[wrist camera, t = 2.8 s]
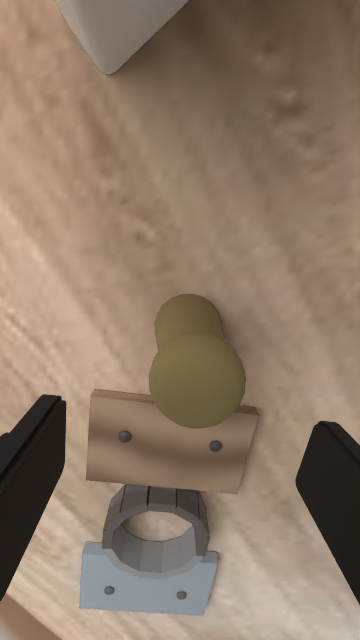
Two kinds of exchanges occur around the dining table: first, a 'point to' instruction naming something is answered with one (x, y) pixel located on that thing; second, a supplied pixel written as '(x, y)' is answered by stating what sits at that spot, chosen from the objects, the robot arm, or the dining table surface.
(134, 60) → the dining table surface
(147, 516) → the dining table surface
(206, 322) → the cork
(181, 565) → the leaf
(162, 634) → the dining table surface
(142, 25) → the white triangular canister
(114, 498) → the leaf
